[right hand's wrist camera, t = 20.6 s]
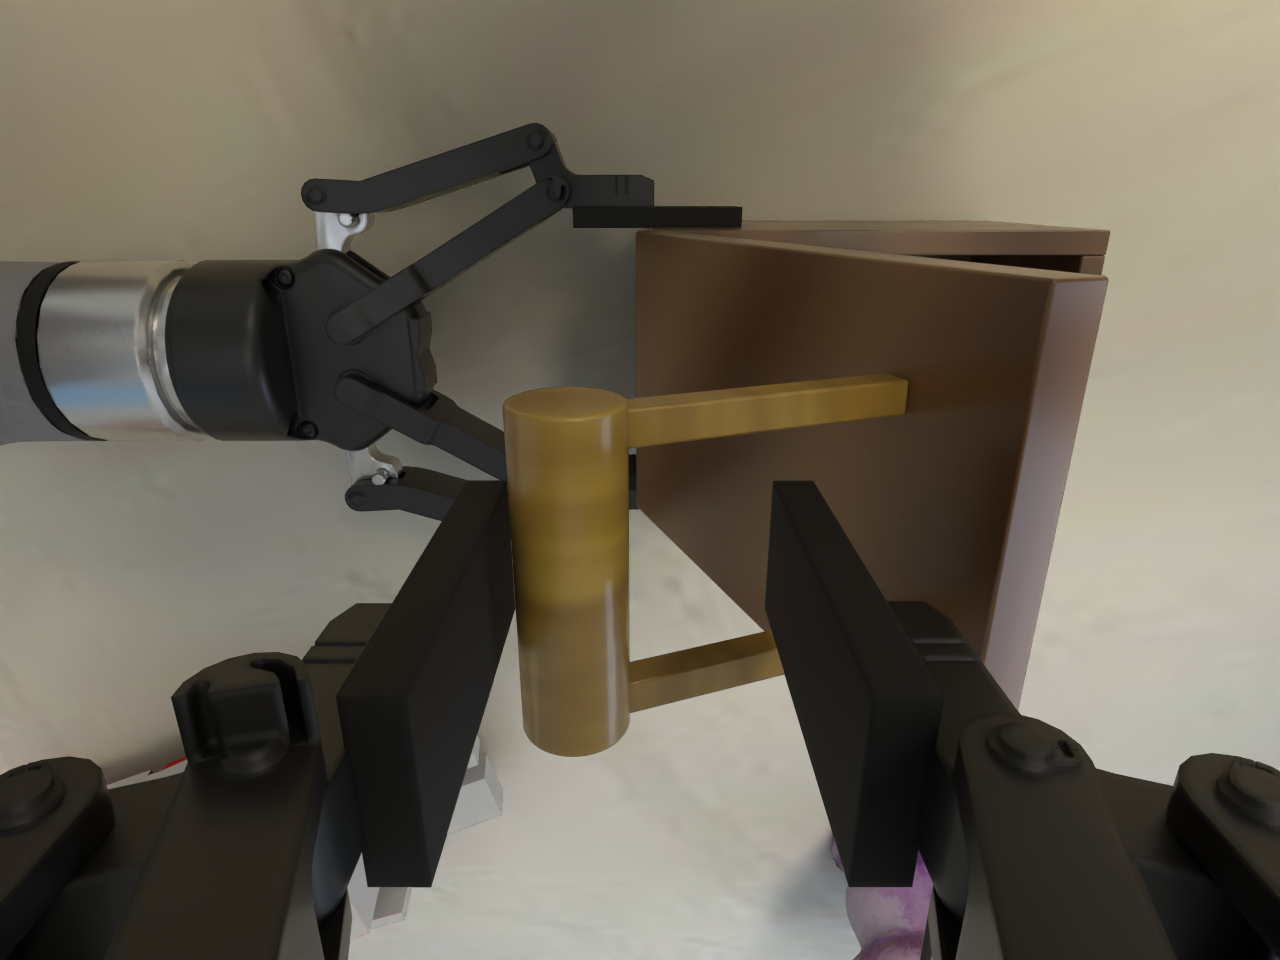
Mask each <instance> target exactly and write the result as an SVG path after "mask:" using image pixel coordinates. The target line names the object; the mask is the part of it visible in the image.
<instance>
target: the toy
mask: <svg viewBox="0 0 1280 960" xmlns="http://www.w3.org/2000/svg"><path fill="white" fill-rule="evenodd" d="M479 749H480V739H479V737H478V734H477V737H476V740H475V743H474V747H473V750H472V753H471V757H470V760H469V763H468V766H467V770H466V773H465V776H464V780H463V783H462V786H461V790H460V793H459V796H458V800H457V803H456V806H455V809H454V813H453V816H452V819H451V823H450V826H449V829H448V833H447V834H450V833H453V832H456V831H458V830H461V829H464V828H467V827H470V826H472V825H475V824H478V823H481V822H483V821H486V820H489V819H492V818H495V817H497V816H500V815H502V798H503V788H502V786H501V784H500V781H499V779H498V777H497V775H496V773H495V771H494V769H493V767H492V764H491V762H490V760H489V758H488V756H487V754H483V755H481V756H479ZM187 763H188V761H187V757H184V758H182V759H179V760H177V761H174V762H171V763H169V764H166V765H165V767H164V769H163V770H162V771H159V772H156V773H153V771H152V770H148V771H146V772H143V773H140V774H137V775H134V776H131V777H128V778H126V779H123V780H120V781H117V782H114V783H111V784H108V785H106V786H107V789H112V788H116V787H121V786H126V785H130V784H135V783H140V782H144V781H149V780H153V779H158V778H163V777H167V776H171V775H174V774H178V773H181V772H184V770H185V768H186V765H187ZM347 887H348V893H349V899H350V905H351V912H352V925H351V935H350V940H351V939H354V938H357V937H359V936H362V935H365V934H368V933H369V932H370V929H373V928H376V927H380V926H384V925H387V924H391V923H395V922H398V921H402V920H405V917H406V913H407V908H408V904H409V899H410V894H411V890H412V887H368V886H367V880H366V875H365V869H364V863H363V857H362V853H361V856H360V858H359V860H358V863H357V865H356V868H355V870H354V872H353V875H352V877H351V879H350V882H349V884H348V886H347Z"/></svg>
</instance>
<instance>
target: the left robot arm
mask: <svg viewBox="0 0 1280 960" xmlns="http://www.w3.org/2000/svg"><path fill="white" fill-rule="evenodd" d="M528 166H530V168H531V170H532V173H533V175H534V178H535V181H536V183H537V184H535V185H534V186H532V187H530V188H529V189H527V190H526V191H524V192H523V193H521V194H520V195H518V196H517V197H515V198H514V199H512V200H511V201H509V202H508V203H506V204H504V205H503V206H501V207H500V208H498V209H497V210H495V211H494V212H492V213H491V214H489V215H488V216H486V217H485V218H483V219H481V220H480V221H478V222H477V223H475V224H474V225H472V226H471V227H469V228H468V229H466V230H465V231H463V232H462V233H460V234H459V235H457V236H455V237H454V238H452V239H451V240H449V241H448V242H446V243H445V244H443V245H442V246H440V247H439V248H437V249H436V250H434V251H433V252H431V253H429V254H428V255H426V256H425V257H423V258H422V259H420V260H419V261H417V262H416V263H414V264H412V265H410V266H408V267H407V268H405V269H403V270H402V271H400V272H399V273H397V274H395V275H394V276H392V277H389V276H388V275H386V274H385V273H383V272H382V271H380V270H379V269H377V268H376V267H375V266H373V265H372V264H370V263H369V262H367V261H366V260H364V259H363V258H361V257H360V256H358V255H357V254H356V253H354V252H352V251H351V250H350V244H351V241H352V239H353V238H354V237H355V236H356V235H358V234H362V233H366V232H368V231H369V230H370V229H371V228H372V227H373V224H374V213H381V212H389V211H394V210H398V209H402V208H405V207H408V206H411V205H414V204H417V203H420V202H423V201H426V200H429V199H432V198H435V197H438V196H441V195H444V194H447V193H450V192H453V191H456V190H459V189H462V188H465V187H468V186H471V185H474V184H477V183H480V182H483V181H486V180H489V179H492V178H495V177H498V176H501V175H504V174H507V173H510V172H513V171H516V170H519V169H522V168H525V167H528ZM301 196H302V200H303V202H304V203H305V205H306V206H307V207H308V208H309V209H311V210H312V211H314V215H315V226H316V237H317V248H318V250H317V251H315V252H313V253H312V254H310V255H309V256H307V257H305V258H303V259H301V260H205V261H202V262H199V263H197V264H195V265H193V264H191V263H188V262H186V261H183V260H84V261H72V262H62V263H52V262H1V261H0V445H3V444H8V443H14V442H26V441H88V440H91V441H108V440H109V441H202V440H205V439H208V438H210V437H213V438H215V439H218V440H222V441H300V440H321V441H325V442H328V443H331V444H333V445H335V446H337V447H339V448H341V449H344V450H346V454H347V459H348V464H349V469H350V474H351V479H352V486H351V487H350V488H349V489H348V490H347V492H346V494H345V501H346V503H347V505H348V506H349V507H350V508H351V509H353V510H355V511H379V510H398V509H399V510H403V511H406V512H410V513H414V514H418V515H421V516H425V517H429V518H432V519H436V520H440V521H442V520H443V519H444V517H445V515H446V514H447V512H448V511H449V509H450V507H451V506H452V504H453V502H454V501H455V499H456V497H457V496H458V494H459V492H460V491H461V489H462V488H463V486H464V484H465V483H466V481H468V480H465V479H461V478H457V477H454V476H450V475H446V474H443V473H439V472H436V471H432V470H428V469H424V468H419V467H410V466H402V464H401V462H400V460H399V459H398V458H396V457H393V456H389V455H385V454H383V453H381V452H380V451H379V450H378V449H377V448H376V446H375V442H376V441H377V440H379V439H380V438H381V437H382V436H384V435H385V434H386V433H388V432H389V431H390V430H392V429H395V430H397V431H399V432H401V433H402V434H404V435H406V436H408V437H410V438H412V439H414V440H416V441H418V442H420V443H422V444H426V445H434V446H437V447H439V448H440V449H442V450H444V451H446V452H448V453H450V454H452V455H454V456H456V457H457V458H459V459H461V460H463V461H465V462H467V463H469V464H471V465H472V466H474V467H476V468H478V469H480V470H482V471H484V472H486V473H488V474H489V475H491V476H493V477H495V478H497V479H499V480H501V481H507V466H506V451H505V436H504V432H503V431H501V430H499V429H498V428H496V427H494V426H492V425H490V424H488V423H487V422H485V421H483V420H481V419H479V418H477V417H476V416H474V415H472V414H470V413H468V412H466V411H465V410H463V409H461V408H459V407H458V406H457V405H456V404H455V402H454V401H453V400H451V399H450V398H448V397H446V396H445V395H443V394H441V393H439V392H437V391H435V390H434V389H433V387H434V385H435V384H436V383H437V375H436V365H435V362H434V360H433V357H432V354H431V351H430V349H429V345H430V339H431V334H432V322H431V312H427V311H426V309H425V307H424V305H423V303H422V302H421V300H422V299H424V298H425V297H427V296H428V295H430V294H432V293H433V292H435V291H436V290H438V289H439V288H441V287H442V286H444V285H445V284H447V283H448V282H450V281H451V280H453V279H454V278H456V277H457V276H459V275H460V274H462V273H464V272H465V271H467V270H468V269H470V268H471V267H473V266H474V265H476V264H478V263H479V262H481V261H482V260H484V259H485V258H487V257H489V256H490V255H492V254H493V253H495V252H496V251H498V250H499V249H501V248H503V247H504V246H506V245H507V244H509V243H510V242H512V241H513V240H515V239H517V238H518V237H520V236H521V235H523V234H524V233H526V232H527V231H529V230H531V229H532V228H534V227H535V226H537V225H538V224H540V223H541V222H543V221H545V220H546V219H548V218H549V217H551V216H552V215H554V214H555V213H557V212H559V211H560V210H562V209H563V208H573V228H652V227H741V226H742V207H736V206H654V180H651V179H649V178H647V177H644V176H642V175H577V174H574V173H572V172H571V171H570V170H569V169H568V168H567V167H566V165H565V163H564V160H563V158H562V155H561V152H560V149H559V147H558V144H557V139H556V137H555V136H554V134H553V133H552V132H551V131H550V130H549V129H547V128H546V127H545V126H543V125H541V124H538V123H531V124H527V125H525V126H522V127H519V128H516V129H513V130H510V131H507V132H504V133H501V134H498V135H495V136H492V137H489V138H486V139H483V140H480V141H477V142H474V143H471V144H468V145H465V146H462V147H459V148H456V149H454V150H451V151H448V152H445V153H442V154H439V155H436V156H433V157H430V158H427V159H424V160H421V161H418V162H415V163H412V164H409V165H406V166H403V167H400V168H397V169H394V170H391V171H388V172H385V173H383V174H380V175H377V176H374V177H371V178H368V179H365V180H362V181H350V180H332V179H310V180H308V181H307V182H305V183H304V185H303V187H302V189H301ZM628 465H629V509H639V508H638V507H637V505H636V454H628ZM507 484H508V482H507ZM508 503H509V497H508ZM509 518H510V512H509ZM510 533H511V528H510Z"/></svg>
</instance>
